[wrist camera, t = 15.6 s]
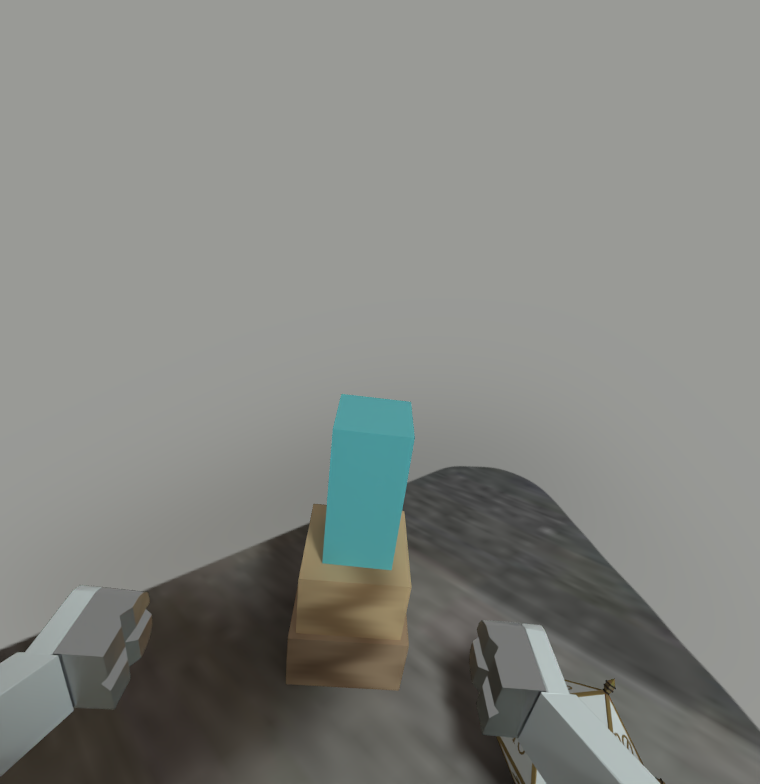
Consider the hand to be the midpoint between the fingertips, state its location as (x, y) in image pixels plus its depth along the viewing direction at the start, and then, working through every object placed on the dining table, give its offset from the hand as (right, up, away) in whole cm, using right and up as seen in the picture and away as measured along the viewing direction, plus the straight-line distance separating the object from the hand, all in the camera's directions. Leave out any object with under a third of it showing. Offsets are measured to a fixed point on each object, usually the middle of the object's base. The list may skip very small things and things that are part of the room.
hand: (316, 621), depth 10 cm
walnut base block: (-1, -14, +23) cm, 27 cm away
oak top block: (-1, -9, +21) cm, 23 cm away
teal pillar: (0, -5, +19) cm, 19 cm away
